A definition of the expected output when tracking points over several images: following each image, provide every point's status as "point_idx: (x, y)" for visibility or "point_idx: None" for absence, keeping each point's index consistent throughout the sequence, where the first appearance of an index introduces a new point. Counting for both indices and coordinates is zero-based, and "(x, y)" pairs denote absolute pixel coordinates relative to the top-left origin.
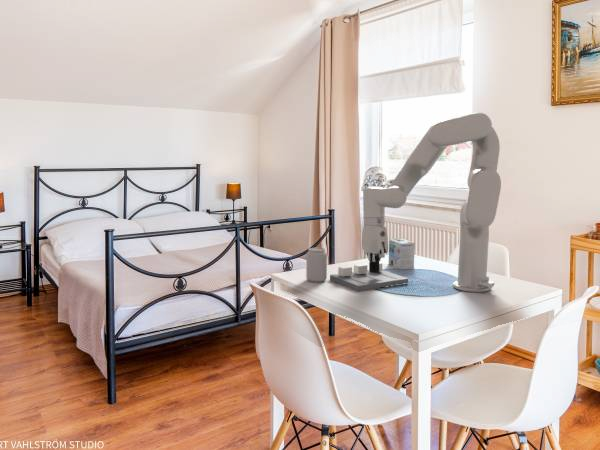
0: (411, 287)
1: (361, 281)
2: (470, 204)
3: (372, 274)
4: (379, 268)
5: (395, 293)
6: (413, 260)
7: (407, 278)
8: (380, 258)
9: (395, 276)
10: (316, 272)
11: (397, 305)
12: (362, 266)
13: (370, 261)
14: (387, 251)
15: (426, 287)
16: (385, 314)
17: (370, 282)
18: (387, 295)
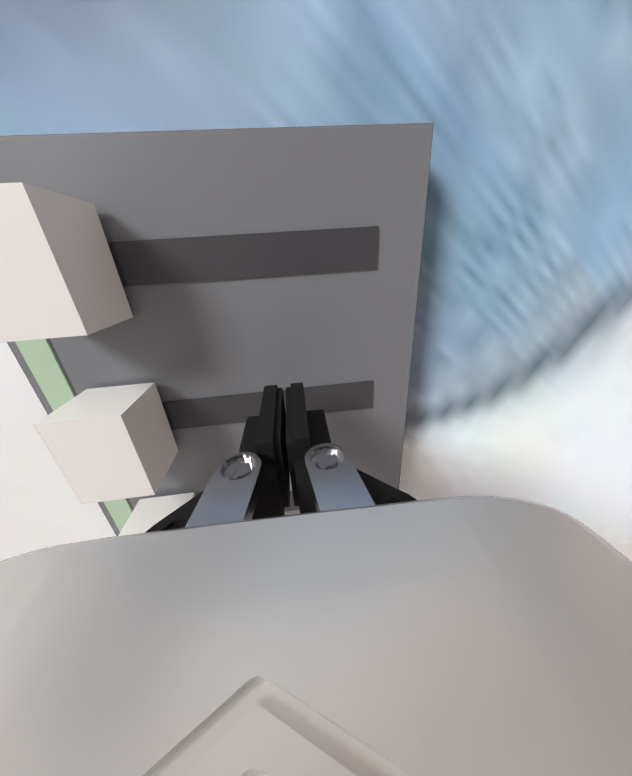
0: (493, 199)
1: None
2: None
3: (184, 351)
4: (87, 243)
5: (509, 380)
6: None
7: (432, 133)
8: (390, 489)
9: (317, 199)
10: None
11: (611, 460)
12: (142, 459)
13: (284, 514)
14: (588, 541)
15: (576, 61)
16: (623, 526)
17: (373, 460)
18: (503, 430)
